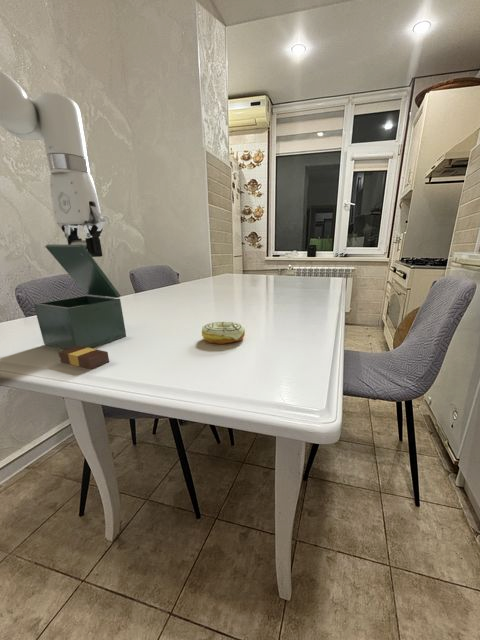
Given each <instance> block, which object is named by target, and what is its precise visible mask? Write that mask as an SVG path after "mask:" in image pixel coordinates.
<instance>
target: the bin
mask: <svg viewBox="0 0 480 640" xmlns="http://www.w3.org/2000/svg"><path fill="white" fill-rule="evenodd" d="M122 307H123V306H122V302H121V298H116V297H107V296H97V295H88V294H85V295H80V296H74V297H67V298H62V299H61V298H60V299H54V300H48V301H43V302H37V303H33V308H34V312H35V314H36V319H37V323H38V326H39V330H40V334H41V337H42V341H43V344H44V346H48V347H52V348H58V349H62V350H65V349H69V348H72V347H75V346H82V347H87V348H93V349H94V348H96V347H98V346H101V345H104V344H107V343H111V342H114V341H117V340H119V339H122V338H126V337H127V332H126V326H125V319H124V314H123V308H122Z"/></svg>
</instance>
